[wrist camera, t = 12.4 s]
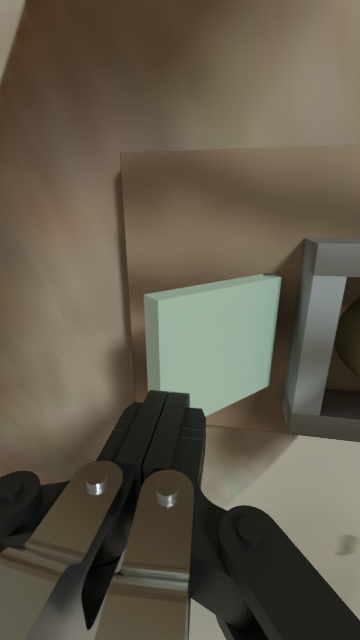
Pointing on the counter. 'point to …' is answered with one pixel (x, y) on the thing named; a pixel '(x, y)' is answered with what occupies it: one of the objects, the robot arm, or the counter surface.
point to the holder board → (256, 265)
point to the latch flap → (212, 339)
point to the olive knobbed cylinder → (349, 337)
